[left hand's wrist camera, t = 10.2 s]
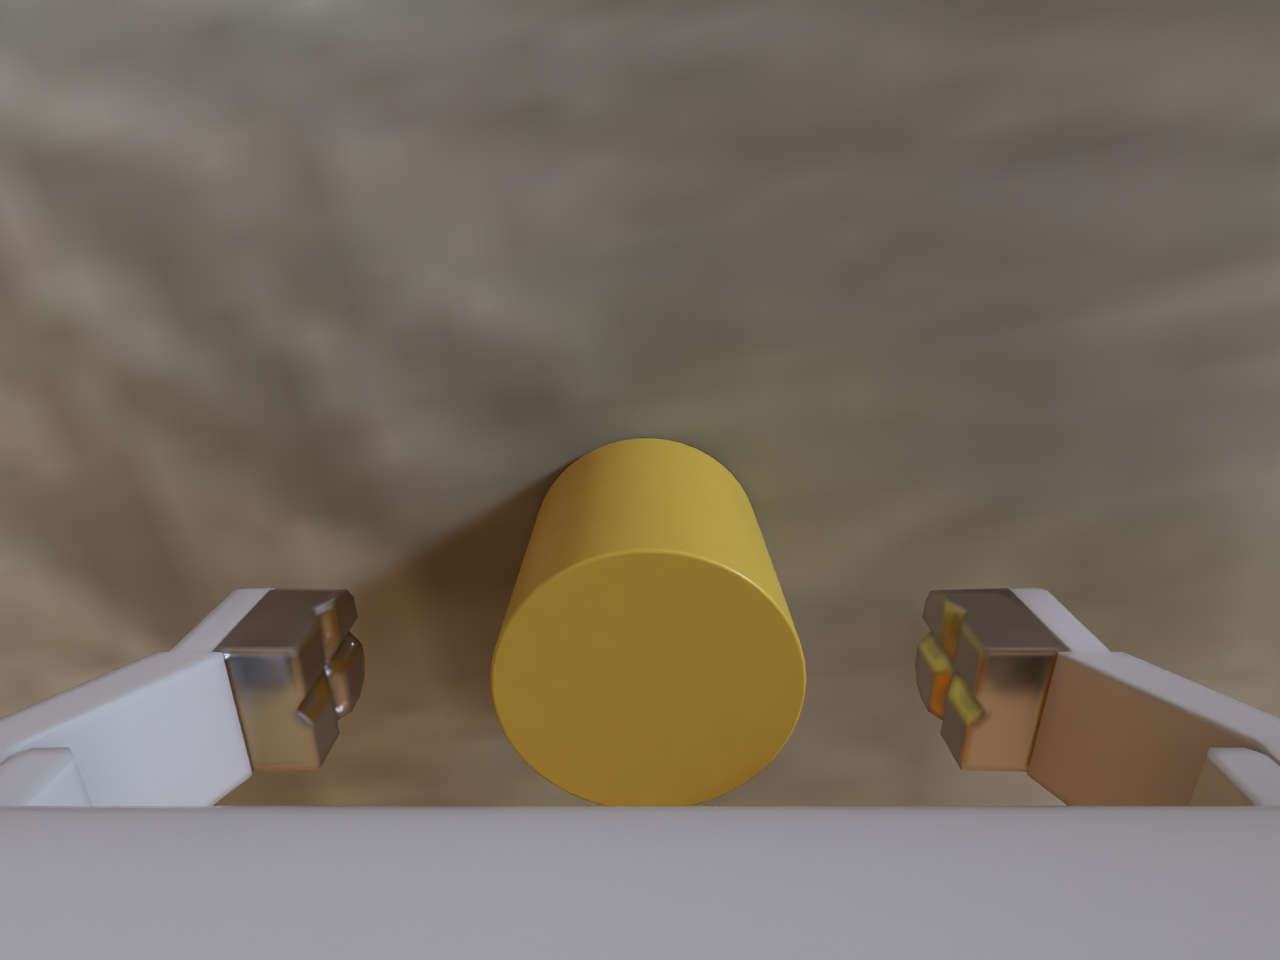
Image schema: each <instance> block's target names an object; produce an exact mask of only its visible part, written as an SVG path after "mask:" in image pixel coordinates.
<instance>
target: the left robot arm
mask: <svg viewBox="0 0 1280 960" xmlns="http://www.w3.org/2000/svg"><path fill="white" fill-rule="evenodd" d="M356 619H357V612H356V607H355V602H354V598H353V596H352V595H351V594H350V593H349V591H348V590H340V589H288V588H278V589H275V588H242V589H235V590H233V591H232V592H231V593H230V594H229V595H228V596H227V597H226V598H225V599H224V600H223V601H222V602H221V603H219V604H218V605H217V606H216V607H215V608H214V609H213V610H212V611H211V612H210V613H209V614H208V615H207V616H206V617H205V618H204V619H203V620H202V621H201V622H200V623H199V624H198V625H197V626H196V627H194V628H193V629H192V630H191V631H190V632H189V633H188V634H187V635H186V636H185V637H184V638H183V639H182V640H181V641H180V642H179V643H178V644H177V645H176V646H175V647H174V648H173V649H172V650H171V651H169V652H156V653H154V654H151V655H149V656H146V657H144V658H142V659H139V660H137V661H135V662H132V663H130V664H128V665H125V666H123V667H120V668H118V669H116V670H113V671H111V672H109V673H106V674H104V675H102V676H99V677H97V678H94V679H92V680H90V681H87V682H85V683H83V684H80V685H78V686H76V687H73V688H71V689H69V690H66V691H64V692H61V693H59V694H57V695H54V696H52V697H50V698H47V699H45V700H43V701H40V702H38V703H35V704H33V705H31V706H28V707H26V708H24V709H21V710H19V711H17V712H14V713H12V714H9V715H7V716H5V717H2V718H0V960H1280V718H1277V717H1275V716H1272V715H1270V714H1268V713H1265V712H1263V711H1261V710H1258V709H1256V708H1254V707H1251V706H1249V705H1247V704H1244V703H1242V702H1240V701H1237V700H1235V699H1232V698H1230V697H1228V696H1225V695H1223V694H1221V693H1218V692H1216V691H1214V690H1211V689H1209V688H1207V687H1204V686H1202V685H1199V684H1197V683H1195V682H1192V681H1190V680H1188V679H1185V678H1183V677H1181V676H1178V675H1176V674H1174V673H1171V672H1169V671H1166V670H1164V669H1162V668H1159V667H1157V666H1155V665H1152V664H1150V663H1148V662H1145V661H1143V660H1141V659H1138V658H1136V657H1134V656H1131V655H1129V654H1126V653H1124V652H1111V651H1110V650H1108V649H1107V648H1106V647H1105V646H1104V645H1103V644H1102V643H1101V642H1100V641H1099V640H1098V639H1097V638H1096V637H1095V636H1094V635H1093V634H1092V633H1091V632H1090V631H1089V630H1088V629H1087V628H1086V627H1085V626H1084V625H1083V624H1081V623H1080V622H1079V621H1078V620H1077V619H1076V618H1075V617H1074V616H1073V615H1072V614H1071V613H1070V612H1069V611H1068V610H1067V609H1066V608H1065V607H1064V606H1063V605H1062V604H1061V603H1060V602H1059V601H1058V600H1057V599H1056V598H1054V597H1053V596H1052V595H1051V594H1050V593H1049V592H1048V591H1047V590H1044V589H1041V588H1038V587H1036V588H1012V589H1008V588H1005V589H964V590H936V591H930V593H929V595H928V597H927V599H926V601H925V606H924V611H923V619H924V621H925V622H926V624H927V625H928V627H929V628H930V630H931V631H930V633H929V634H928V635H927V636H926V637H925V638H924V639H923V640H922V641H921V642H920V643H919V644H918V648H917V655H916V663H915V668H916V679H917V686H918V689H919V693H920V696H921V699H922V701H923V703H924V704H925V706H926V708H927V710H928V711H929V712H930V713H932V714H933V715H935V716H937V717H938V718H940V719H941V720H943V724H942V729H941V735H942V737H943V739H944V741H945V742H946V744H947V746H948V748H949V749H950V751H951V753H952V755H953V756H954V758H955V760H956V762H957V763H958V765H959V767H960V769H961V770H984V771H1021V772H1028V773H1027V775H1028V776H1030V777H1031V778H1032V779H1034V780H1035V781H1036V782H1038V783H1039V784H1040V785H1042V786H1043V787H1044V788H1045V789H1047V790H1048V791H1049V792H1051V793H1052V794H1053V795H1055V796H1056V797H1057V798H1059V799H1060V800H1061V801H1062V802H1064V803H1065V804H1066V805H1068V806H213V805H214V804H215V803H216V802H218V801H219V800H220V799H222V798H223V797H224V796H226V795H227V794H228V793H230V792H231V791H232V790H234V789H235V788H236V787H237V786H239V785H240V784H241V783H243V782H244V781H245V780H247V779H248V778H249V777H251V776H252V774H253V773H252V772H258V771H294V770H319V769H320V767H321V765H322V764H323V762H324V760H325V758H326V757H327V755H328V753H329V751H330V749H331V748H332V746H333V744H334V742H335V741H336V739H337V737H338V735H339V729H338V724H337V720H339V719H340V718H342V717H343V716H345V715H347V714H348V713H350V712H351V711H352V710H353V708H354V706H355V704H356V702H357V701H358V699H359V697H360V693H361V688H362V684H363V680H364V654H363V647H362V644H361V643H360V642H359V641H358V640H357V639H356V638H355V637H354V636H353V635H352V634H351V633H350V631H349V630H350V628H351V627H352V625H353V624H354V622H355V621H356Z"/></svg>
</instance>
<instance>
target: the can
mask: <svg viewBox="0 0 1280 960" xmlns="http://www.w3.org/2000/svg"><path fill="white" fill-rule="evenodd" d="M490 684H491V693H492V700H493V704H494V708H495V711H496V715H497V718H498V720H499V723H500V725H501V727H502V729H503V732H504V734H505V735H506V737H507V738H508V740H509V742H510V743H511V745H512V746H513V748H514V749H515V750H516V752H517V753H518V754H519V755H520V756H521V758H522V759H523V760H524V761H525V762H526V763H527V764H528V765H529V766H530V767H531V768H532V769H533V770H535V771H536V772H537V773H538V774H539V775H541V776H542V777H543V778H545V779H546V780H548V781H549V782H550V783H552V784H553V785H555V786H557V787H559V788H561V789H562V790H564V791H566V792H568V793H570V794H572V795H575V796H577V797H579V798H582V799H584V800H587V801H590V802H594V803H597V804H600V805H604V806H691V805H695V804H699V803H702V802H705V801H708V800H711V799H714V798H717V797H719V796H721V795H723V794H725V793H728V792H730V791H732V790H734V789H735V788H737V787H739V786H740V785H742V784H744V783H745V782H747V781H749V780H750V779H751V778H752V777H754V776H755V775H756V774H758V773H759V772H760V771H762V770H763V769H764V768H765V767H766V766H767V765H768V764H769V763H770V762H771V761H772V760H773V759H774V758H775V757H776V755H777V754H778V753H779V752H780V750H781V749H782V748H783V747H784V745H785V744H786V742H787V740H788V739H789V737H790V735H791V734H792V732H793V730H794V728H795V726H796V723H797V721H798V718H799V716H800V713H801V710H802V705H803V701H804V697H805V688H806V668H805V659H804V655H803V651H802V647H801V643H800V640H799V637H798V635H797V632H796V629H795V626H794V623H793V621H792V618H791V615H790V612H789V610H788V607H787V604H786V601H785V598H784V596H783V593H782V590H781V587H780V584H779V582H778V579H777V576H776V573H775V570H774V568H773V565H772V562H771V559H770V556H769V554H768V551H767V548H766V545H765V542H764V540H763V537H762V534H761V531H760V528H759V526H758V523H757V520H756V517H755V514H754V512H753V509H752V506H751V504H750V502H749V499H748V497H747V495H746V493H745V492H744V490H743V488H742V487H741V485H740V484H739V483H738V481H737V480H736V479H735V478H734V476H733V475H732V474H731V473H730V472H729V471H728V470H727V469H726V468H725V467H724V466H723V465H722V464H720V463H719V462H717V461H716V460H715V459H713V458H712V457H710V456H709V455H707V454H705V453H703V452H701V451H700V450H698V449H696V448H693V447H690V446H688V445H685V444H682V443H678V442H674V441H670V440H664V439H655V438H636V439H629V440H622V441H618V442H615V443H611V444H607V445H605V446H602V447H600V448H597V449H595V450H593V451H591V452H589V453H587V454H586V455H584V456H582V457H581V458H579V459H578V460H576V461H575V462H574V463H573V464H571V465H570V466H569V467H568V468H567V469H566V470H565V471H564V472H563V473H562V474H561V475H560V476H559V477H558V478H557V479H556V481H555V482H554V483H553V485H552V486H551V487H550V489H549V491H548V492H547V494H546V496H545V498H544V500H543V502H542V505H541V507H540V510H539V513H538V516H537V519H536V522H535V525H534V528H533V531H532V534H531V538H530V541H529V544H528V547H527V550H526V553H525V556H524V559H523V562H522V565H521V569H520V572H519V575H518V578H517V581H516V584H515V587H514V590H513V593H512V596H511V599H510V603H509V606H508V609H507V612H506V615H505V618H504V621H503V624H502V627H501V630H500V634H499V637H498V640H497V643H496V646H495V649H494V654H493V659H492V664H491V680H490Z"/></svg>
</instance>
